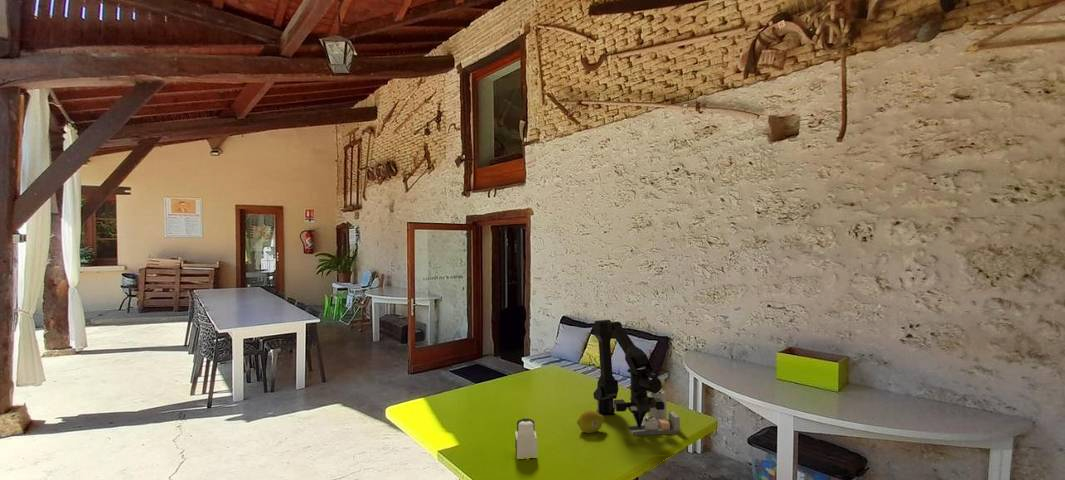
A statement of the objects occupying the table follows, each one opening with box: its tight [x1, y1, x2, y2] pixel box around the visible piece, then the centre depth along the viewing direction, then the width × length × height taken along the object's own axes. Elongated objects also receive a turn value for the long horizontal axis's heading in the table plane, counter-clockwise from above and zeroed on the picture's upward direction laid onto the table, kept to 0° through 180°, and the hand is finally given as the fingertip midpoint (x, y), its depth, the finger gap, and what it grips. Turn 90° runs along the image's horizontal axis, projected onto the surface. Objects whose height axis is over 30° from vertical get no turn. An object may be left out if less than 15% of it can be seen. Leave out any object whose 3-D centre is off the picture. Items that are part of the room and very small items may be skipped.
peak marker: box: [658, 419, 670, 430], centre depth 183 cm, size 3×4×4 cm
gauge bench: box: [628, 410, 681, 436], centre depth 183 cm, size 18×6×6 cm, turn 94°
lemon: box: [576, 410, 605, 434], centre depth 183 cm, size 11×8×8 cm
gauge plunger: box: [641, 415, 659, 431], centre depth 182 cm, size 5×4×5 cm
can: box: [647, 389, 668, 421], centre depth 194 cm, size 8×8×12 cm
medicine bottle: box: [514, 418, 538, 459], centre depth 164 cm, size 7×7×12 cm
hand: (638, 427), depth 182 cm, fingers closed
